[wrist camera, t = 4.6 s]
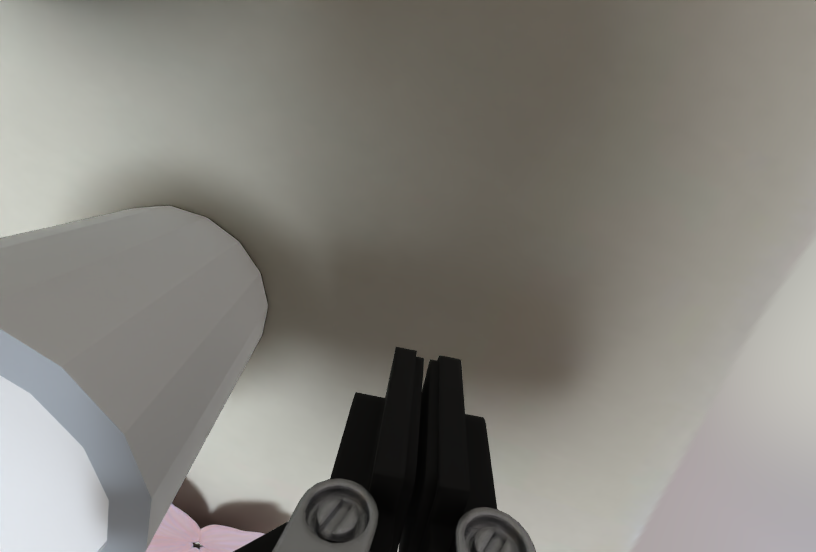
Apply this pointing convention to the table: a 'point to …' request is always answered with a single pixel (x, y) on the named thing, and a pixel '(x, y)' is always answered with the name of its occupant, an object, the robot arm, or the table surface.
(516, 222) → the table surface
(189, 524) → the flower
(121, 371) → the white short cylinder
